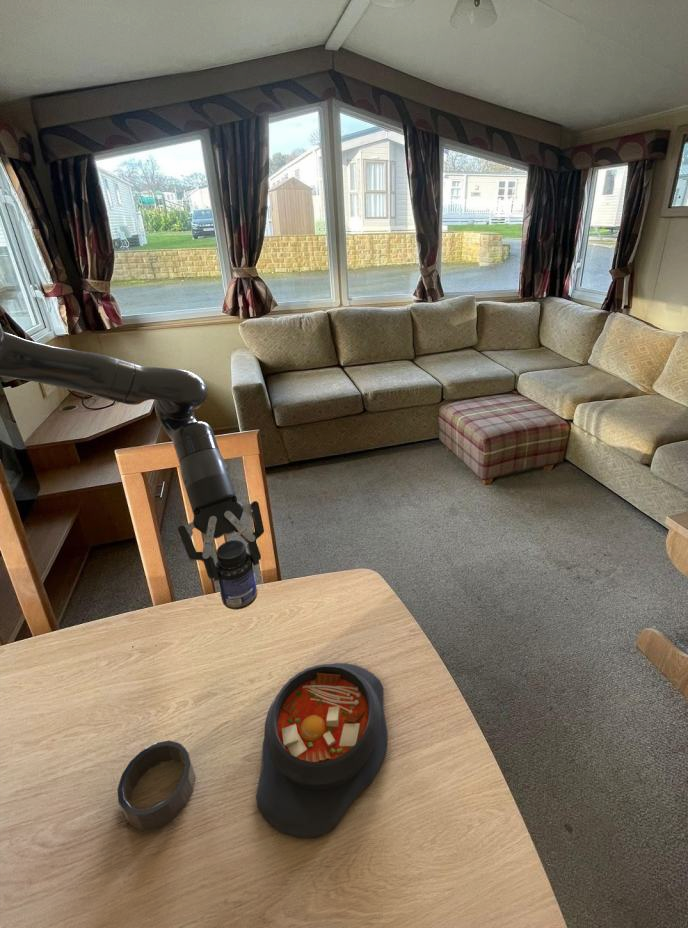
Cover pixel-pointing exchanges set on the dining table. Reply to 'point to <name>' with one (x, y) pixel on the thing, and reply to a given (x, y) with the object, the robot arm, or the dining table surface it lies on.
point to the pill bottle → (235, 575)
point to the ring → (174, 802)
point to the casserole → (321, 747)
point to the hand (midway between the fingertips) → (236, 572)
